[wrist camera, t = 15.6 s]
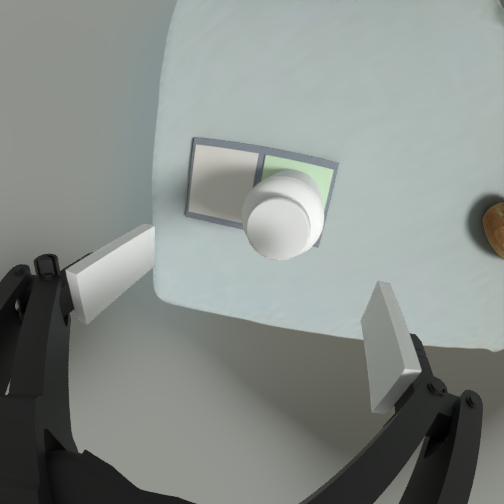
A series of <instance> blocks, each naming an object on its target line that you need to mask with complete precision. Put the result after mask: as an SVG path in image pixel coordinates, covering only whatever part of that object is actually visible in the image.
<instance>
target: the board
mask: <svg viewBox="0 0 504 504" xmlns="http://www.w3.org/2000/svg"><path fill="white" fill-rule="evenodd" d="M338 165H339V163H337V162H333V161H329V160H325V159H321V158H317V157H312V156H308V155H303V154H299V153H294V152H289V151H284V150H279V149H274V148H268V147H263V146H257V145H251V144H244V143H238V142H231V141H223V140H216V139H207V138H198V137H195V138H194V145H193V153H192V161H191V169H190V178H189V187H188V198H187V209H186V217H190V218H194V219H199V220H203V221H208V222H212V223H217V224H221V225H226V226H230V227H234V228H239V229H243V230H244V228H243V224H242V207H243V204H244V201H245V199H246V197H247V195H248V193H249V192H250V191H251V190H252V189H253V188H254V187H255V186H256V185H257V184H258V183H260V182H261V181H263V180H265V179H267V178H268V177H270V176H272V175H274V174H276V173H278V172H280V171H283V170H298V171H302V172H304V173H306V174H308V175H309V176H310V177H312V178H313V179H314V180H315V182H316V183H317V185H318V186H319V188H320V191H321V195H322V202H323V210H324V224H325V220H326V216H327V212H328V208H329V204H330V200H331V196H332V191H333V187H334V183H335V178H336V174H337V169H338ZM323 228H324V225H323ZM322 232H323V229H322ZM322 232H321V234H320V236H319V238H318V240H317V241H316V243H315V244H314V245H313V246H314V247H319V243H320V239H321V236H322Z"/></svg>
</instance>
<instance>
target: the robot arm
mask: <svg viewBox="0 0 504 504" xmlns="http://www.w3.org/2000/svg"><path fill="white" fill-rule="evenodd" d="M154 235H155V226H153V225H149V224H145V223H144V224H142V225H141V226H139V227H137V228H135V229H133V230H132V231H130V232H128V233H126V234H124V235H123V236H121V237H119V238H117V239H116V240H114V241H112V242H110V243H109V244H107V245H105V246H103V247H102V248H100V249H98V250H97V251H95V252H92V253H89V254H87V255H85V256H84V257H82V258H81V259H79V260H77V261H76V262H74V263H72V264H71V265H69V266H68V267H66V268H64V269H63V270H61V271H60V269H59V263H58V258H57V256H56V255H54V254H44V255H41V256H39V257H37V258H36V259H35V260H34V266H35V271H36V275H37V276H36V275H31V272H30V268H29V266H28V265H22V264H20V265H17V266H15V267H13V268H12V269H11V270H10V271H9V272H8V273H7V274H6V276H5V277H4V278H3V279H2V280H1V282H0V504H195V503H192V502H189V501H187V500H183V499H181V498H178V497H174V496H168V495H162V494H158V493H153V492H148V491H144V490H141V489H139V488H137V487H136V486H135V485H133V484H132V483H131V482H130V481H128V480H127V479H126V478H125V477H124V476H123V475H122V474H120V473H119V472H118V471H117V470H116V469H115V468H114V467H113V466H111V465H109V464H108V463H106V462H104V461H102V460H101V459H100V458H98V457H96V456H95V455H93V454H92V453H90V452H89V451H87V450H84V452H83V453H82V454H81V453H78V450H77V447H76V445H75V442H74V440H73V437H72V432H71V422H70V410H69V388H68V359H69V358H68V357H69V337H70V336H69V335H70V323H71V317H70V312H71V311H72V310H74V311H75V315H76V319H78V320H79V321H81V322H83V323H85V324H88V323H89V322H91V321H92V320H93V319H94V318H95V317H96V316H97V315H98V314H99V313H101V312H102V311H103V310H104V309H105V308H106V307H107V306H109V305H110V304H111V303H112V302H113V301H114V300H115V299H116V298H118V297H119V296H120V295H121V294H122V293H123V292H125V291H126V290H127V289H128V288H129V287H130V286H132V285H133V284H134V283H135V282H136V281H137V280H139V279H140V278H141V277H142V276H143V275H145V274H146V273H147V272H148V271H149V270H151V269H152V268H153V267H154ZM16 301H17V304H18V306H19V307H18V309H17V310H16V309H15V303H16ZM361 325H362V332H363V338H364V345H365V352H366V359H367V368H368V376H369V386H370V395H371V408H372V412H375V413H388V412H389V411H390V410H391V409H392V408H393V406H395V414H394V415H393V416H392V417H391V418H390V419H389V420H388V422H387V423H386V424H385V425H384V426H383V428H382V429H381V430H380V431H379V432H378V433H377V434H376V436H375V437H374V438H373V439H372V440H371V441H370V442H369V443H368V444H367V445H366V446H365V447H364V448H363V449H362V450H361V451H360V452H359V453H358V454H357V455H356V456H355V457H354V458H353V459H352V460H351V461H350V462H349V463H348V464H347V465H346V466H345V467H344V468H343V469H341V470H340V471H339V472H338V473H337V474H336V475H335V476H333V477H332V478H331V479H330V480H329V481H328V482H326V483H325V484H324V485H323V486H322V487H320V488H319V489H318V490H317V491H316V492H314V493H313V494H311V495H310V496H309V497H307V498H306V499H305V500H303V501H302V502H301V503H299V504H373V503H374V502H375V501H376V500H377V499H378V497H379V496H380V495H381V494H382V493H383V492H384V491H385V489H386V488H387V487H388V486H389V485H390V483H391V482H392V481H393V480H394V479H395V477H396V476H397V475H398V473H399V472H400V471H401V469H402V468H403V467H404V465H405V464H406V463H407V461H408V460H409V458H410V457H411V455H412V454H413V453H414V451H415V450H416V448H417V447H418V445H419V444H420V442H421V441H422V439H423V438H424V436H425V439H424V442H423V445H422V449H421V451H420V454H419V457H418V460H417V462H416V465H415V468H414V471H413V473H412V475H411V478H410V480H409V482H408V485H407V487H406V490H405V492H404V494H403V496H402V498H401V500H400V502H399V504H467V503H468V500H469V496H470V492H471V488H472V484H473V479H474V475H475V470H476V465H477V459H478V453H479V446H480V438H481V428H482V414H483V404H482V400H481V398H480V396H479V395H478V394H477V393H475V392H474V391H471V390H465V391H464V392H463V393H462V394H461V395H460V396H459V397H458V396H455V395H452V394H449V393H448V392H447V388H446V386H445V384H444V383H443V382H442V381H441V380H440V379H438V378H436V377H434V376H433V373H432V371H431V367H430V365H429V361H428V359H427V357H426V353H425V351H424V348H423V345H422V342H421V341H420V339H419V338H418V337H417V336H416V334H411V333H409V331H408V328H407V325H406V323H405V320H404V317H403V315H402V312H401V310H400V307H399V305H398V302H397V300H396V297H395V295H394V292H393V290H392V288H391V285H390V283H386V282H382V281H377V284H376V286H375V289H374V291H373V293H372V296H371V298H370V301H369V303H368V305H367V307H366V310H365V312H364V314H363V316H362V319H361ZM10 379H11V380H10ZM9 382H10V388H9V393H8V395H5V392H6V390H7V387H8V384H9Z"/></svg>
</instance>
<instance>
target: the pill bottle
mask: <svg viewBox="0 0 504 504" xmlns="http://www.w3.org/2000/svg"><path fill="white" fill-rule="evenodd" d="M242 224H243V228H244V231H245V233H246V235H247V237H248V240H249V243H250V244H251V246H252V247H253V248H254V249H255V250H256V251H257V252H258V253H259V254H261V255H262V256H264V257H266V258H269V259H273V260H285V259H290V258H293V257H294V256H297V255H299V254H302V253H304V252H305V251H307V250H308V249H310V248H311V247H312V246H313V245H314V244H315V243H316V241H317V240H318V238H319V236H320V234H321V232H322V229H323V225H324V210H323V202H322V195H321V191H320V188H319V186H318V185H317V183H316V182H315V180H314V179H313V178H312V177H310V176H309V175H308V174H306V173H304V172H302V171H298V170H283V171H280V172H278V173H276V174H274V175H272V176H270V177H268V178H267V179H265V180H263V181H261V182H260V183H258V184H257V185H256V186H255V187H254V188H253V189H252V190H251V191H250V192H249V193H248V195H247V197H246V199H245V201H244V204H243V207H242Z"/></svg>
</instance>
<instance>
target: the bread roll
mask: <svg viewBox="0 0 504 504" xmlns="http://www.w3.org/2000/svg"><path fill="white" fill-rule="evenodd" d="M483 226H484V231H485V234H486V237H487V239H488V241H489V243H490V244H491V246H492V248H493V249H494V250H495V252H496V253H497V254H498V255H499V256H500V257H501V258H502V259H503V260H504V202H502V203H498V204H495V205H493V206H492V207H491V208H489V209H488V210H487V211H486V213H485V214H484V217H483Z"/></svg>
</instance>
